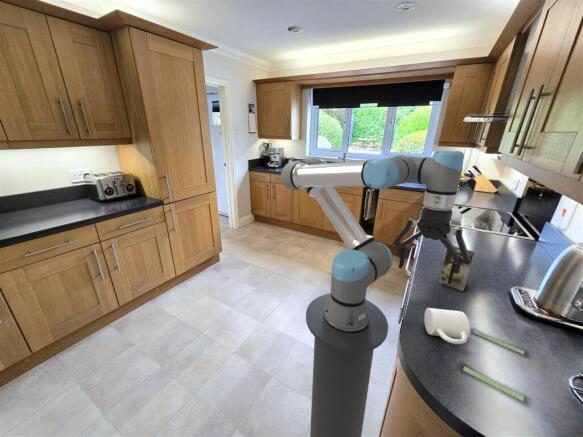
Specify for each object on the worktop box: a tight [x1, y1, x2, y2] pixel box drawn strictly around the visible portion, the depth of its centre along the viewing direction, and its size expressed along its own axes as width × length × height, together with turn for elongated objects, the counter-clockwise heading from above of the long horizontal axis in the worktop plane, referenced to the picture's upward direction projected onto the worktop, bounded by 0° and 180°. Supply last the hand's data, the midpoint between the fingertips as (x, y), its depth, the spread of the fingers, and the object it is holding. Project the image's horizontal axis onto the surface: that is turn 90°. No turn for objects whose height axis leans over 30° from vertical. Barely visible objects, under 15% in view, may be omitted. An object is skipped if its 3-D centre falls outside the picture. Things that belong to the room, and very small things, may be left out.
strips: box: [462, 329, 525, 402], centre depth 68 cm, size 12×20×1 cm, turn 137°
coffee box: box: [438, 245, 476, 292], centre depth 101 cm, size 9×6×16 cm
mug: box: [423, 307, 471, 345], centre depth 74 cm, size 12×10×8 cm
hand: (424, 273), depth 75 cm, fingers open, 13 cm apart
